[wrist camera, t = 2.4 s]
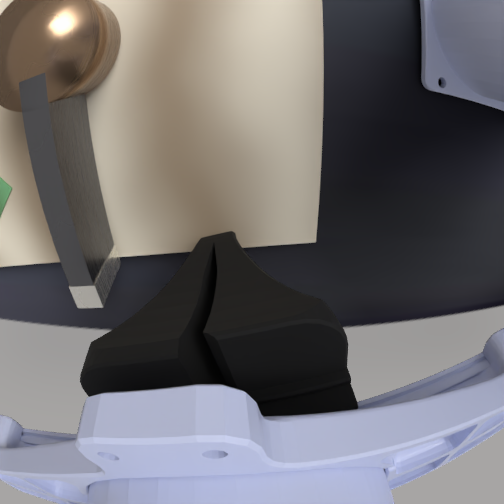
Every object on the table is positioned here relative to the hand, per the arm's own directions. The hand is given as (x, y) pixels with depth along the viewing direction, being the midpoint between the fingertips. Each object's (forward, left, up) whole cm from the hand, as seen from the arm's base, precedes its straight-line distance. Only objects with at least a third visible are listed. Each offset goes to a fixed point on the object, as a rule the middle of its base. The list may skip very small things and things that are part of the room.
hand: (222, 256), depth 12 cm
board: (+7, -8, -2) cm, 11 cm away
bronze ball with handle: (+5, -5, -1) cm, 7 cm away
